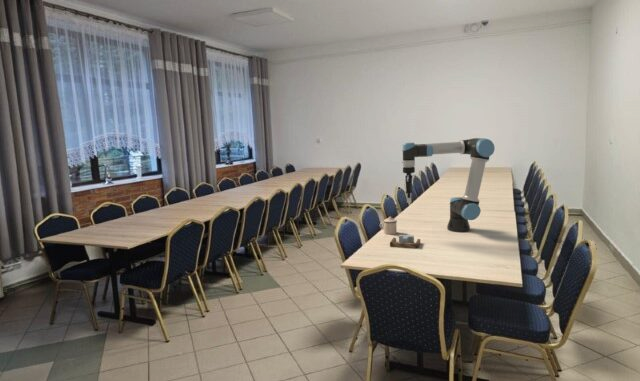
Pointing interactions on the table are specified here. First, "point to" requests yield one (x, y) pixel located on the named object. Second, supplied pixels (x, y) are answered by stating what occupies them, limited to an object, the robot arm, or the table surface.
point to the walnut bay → (404, 244)
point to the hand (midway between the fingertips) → (409, 202)
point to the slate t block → (406, 238)
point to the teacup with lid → (389, 226)
